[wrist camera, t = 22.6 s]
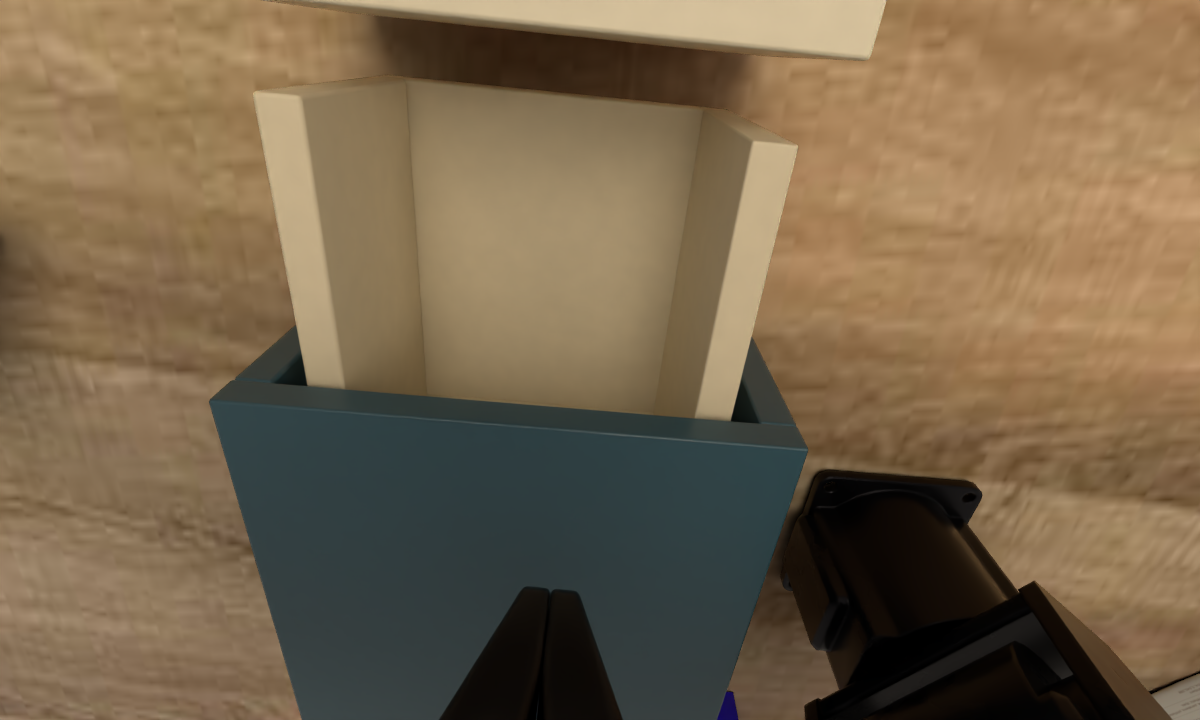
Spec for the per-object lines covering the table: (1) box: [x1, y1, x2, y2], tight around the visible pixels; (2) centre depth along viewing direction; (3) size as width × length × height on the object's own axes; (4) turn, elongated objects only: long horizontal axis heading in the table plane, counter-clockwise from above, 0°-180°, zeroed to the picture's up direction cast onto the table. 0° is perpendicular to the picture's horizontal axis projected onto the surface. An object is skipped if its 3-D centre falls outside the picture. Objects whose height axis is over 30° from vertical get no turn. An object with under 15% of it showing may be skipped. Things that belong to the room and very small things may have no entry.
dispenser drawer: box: [253, 0, 887, 421], centre depth 13 cm, size 17×10×7 cm, turn 175°
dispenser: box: [209, 325, 808, 720], centre depth 18 cm, size 14×12×9 cm
